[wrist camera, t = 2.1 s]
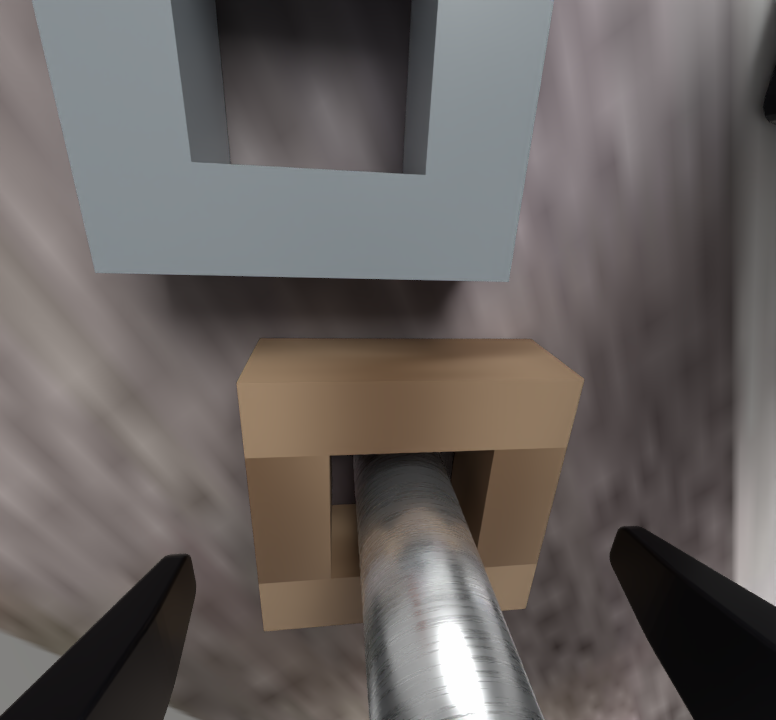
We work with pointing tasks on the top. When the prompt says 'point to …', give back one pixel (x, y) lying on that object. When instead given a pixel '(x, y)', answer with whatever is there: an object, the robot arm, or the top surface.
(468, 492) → the socket block
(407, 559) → the silver metal rod
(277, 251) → the gray square ring
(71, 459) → the top surface
